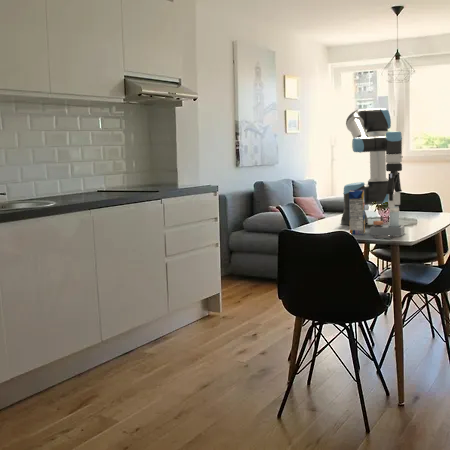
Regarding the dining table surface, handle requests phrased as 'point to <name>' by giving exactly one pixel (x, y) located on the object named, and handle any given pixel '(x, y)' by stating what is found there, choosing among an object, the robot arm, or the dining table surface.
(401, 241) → the dining table surface
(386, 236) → the mat
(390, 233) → the housing
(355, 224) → the beverage box
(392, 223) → the cartridge
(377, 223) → the plunger
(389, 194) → the robot arm
